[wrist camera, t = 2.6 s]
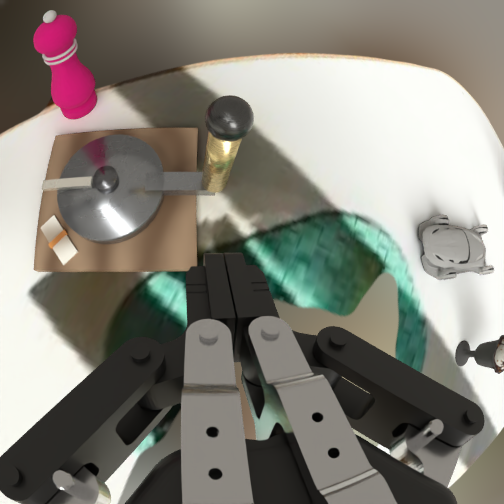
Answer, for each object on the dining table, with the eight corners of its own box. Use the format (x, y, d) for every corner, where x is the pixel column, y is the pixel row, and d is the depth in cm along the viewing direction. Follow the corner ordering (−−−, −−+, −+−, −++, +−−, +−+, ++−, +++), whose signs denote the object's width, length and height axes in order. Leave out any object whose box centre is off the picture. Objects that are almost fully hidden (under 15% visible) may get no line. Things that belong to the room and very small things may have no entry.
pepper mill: (82, 84, 39) (57, -6, 19) (108, 97, 39) (87, -1, 20) (52, 112, 37) (12, 26, 17) (77, 128, 37) (38, 33, 18)
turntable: (45, 245, 31) (-32, 198, 15) (61, 148, 34) (16, 70, 18) (229, 242, 36) (265, 184, 20) (226, 143, 39) (253, 52, 23)
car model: (486, 277, 49) (503, 273, 45) (414, 281, 44) (435, 277, 39) (479, 227, 52) (495, 221, 47) (406, 217, 46) (425, 208, 42)
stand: (38, 271, 32) (32, 269, 30) (58, 140, 36) (54, 134, 34) (196, 270, 37) (197, 268, 35) (197, 133, 41) (197, 125, 39)
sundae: (448, 358, 43) (513, 361, 28) (463, 329, 45) (525, 325, 30) (461, 377, 43) (521, 382, 28) (474, 349, 45) (533, 348, 30)
